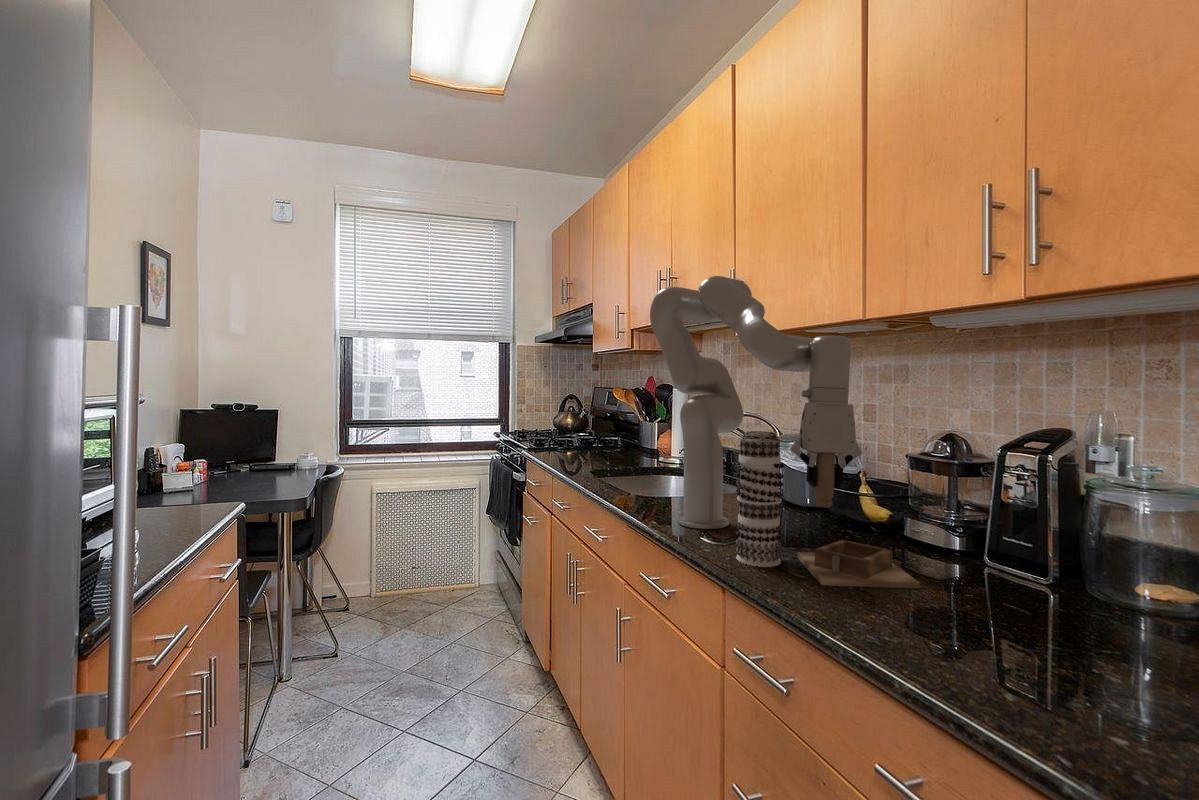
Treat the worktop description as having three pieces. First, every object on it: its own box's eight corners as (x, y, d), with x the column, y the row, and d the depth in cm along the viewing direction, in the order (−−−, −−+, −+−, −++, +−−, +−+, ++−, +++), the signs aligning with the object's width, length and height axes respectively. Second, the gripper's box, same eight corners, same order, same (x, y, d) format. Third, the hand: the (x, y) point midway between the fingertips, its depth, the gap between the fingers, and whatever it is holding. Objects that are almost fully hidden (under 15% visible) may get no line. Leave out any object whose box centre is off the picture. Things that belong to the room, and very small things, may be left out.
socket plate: (796, 557, 112) (797, 537, 111) (880, 559, 110) (881, 539, 110) (821, 585, 96) (821, 561, 96) (919, 588, 94) (920, 564, 94)
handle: (844, 508, 114) (848, 434, 113) (816, 509, 112) (819, 434, 112) (829, 503, 118) (832, 432, 118) (802, 503, 117) (805, 432, 116)
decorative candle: (765, 551, 115) (767, 429, 115) (793, 565, 106) (794, 433, 106) (725, 555, 113) (726, 430, 112) (750, 569, 104) (751, 434, 103)
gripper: (790, 396, 111) (786, 487, 112) (878, 399, 110) (873, 491, 111) (781, 395, 119) (778, 480, 120) (863, 397, 117) (859, 484, 118)
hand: (824, 485), depth 115 cm, fingers closed on handle, 4 cm apart
